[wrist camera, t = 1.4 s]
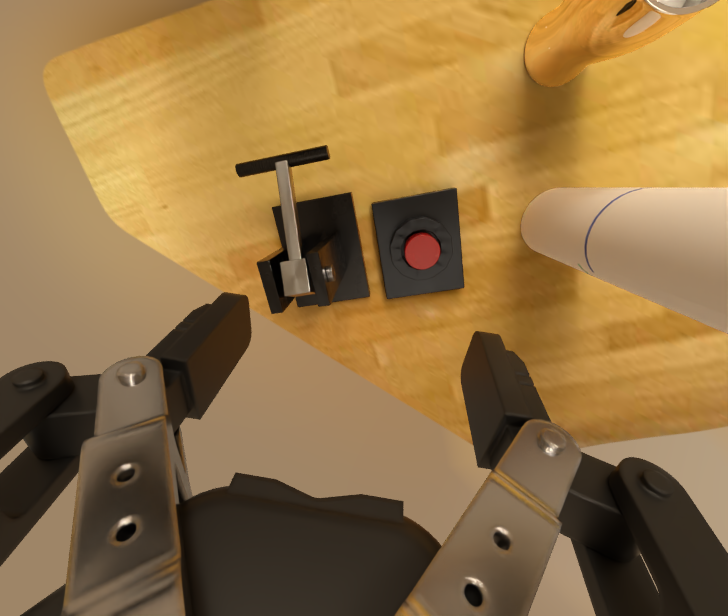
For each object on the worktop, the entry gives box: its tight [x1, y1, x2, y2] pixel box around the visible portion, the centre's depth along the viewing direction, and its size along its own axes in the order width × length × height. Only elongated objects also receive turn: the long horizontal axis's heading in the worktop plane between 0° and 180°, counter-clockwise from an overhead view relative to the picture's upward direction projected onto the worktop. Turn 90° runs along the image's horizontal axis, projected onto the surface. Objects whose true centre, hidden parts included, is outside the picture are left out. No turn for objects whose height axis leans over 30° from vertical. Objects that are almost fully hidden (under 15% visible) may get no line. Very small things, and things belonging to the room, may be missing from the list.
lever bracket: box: [257, 192, 370, 314], centre depth 32 cm, size 12×9×14 cm
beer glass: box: [524, 0, 719, 87], centre depth 24 cm, size 7×7×15 cm
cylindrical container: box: [521, 188, 728, 334], centre depth 24 cm, size 7×7×25 cm
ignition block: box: [372, 188, 464, 299], centre depth 36 cm, size 11×9×4 cm
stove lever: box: [235, 145, 330, 297], centre depth 28 cm, size 12×8×2 cm
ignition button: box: [404, 233, 440, 270], centre depth 34 cm, size 4×4×2 cm
